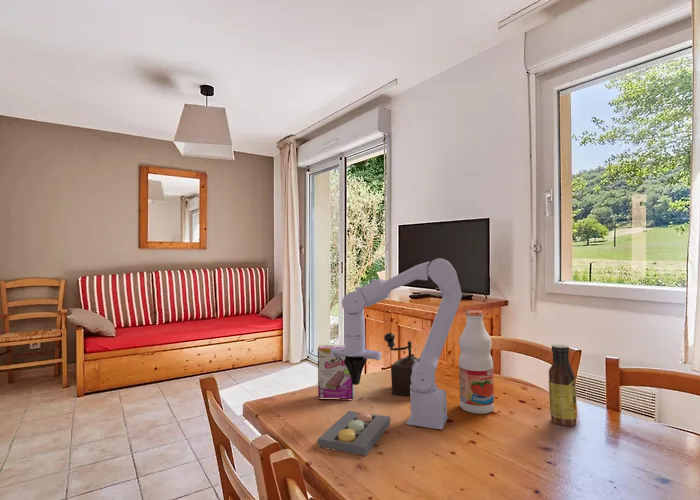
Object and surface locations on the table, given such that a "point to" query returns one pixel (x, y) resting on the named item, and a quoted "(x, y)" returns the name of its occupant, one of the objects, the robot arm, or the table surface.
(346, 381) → the candy bar box
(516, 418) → the table surface
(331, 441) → the panel
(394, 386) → the dark brown coffee grinder
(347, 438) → the mustard button
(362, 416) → the terracotta button
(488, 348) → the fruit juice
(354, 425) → the sage button
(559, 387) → the sauce bottle
